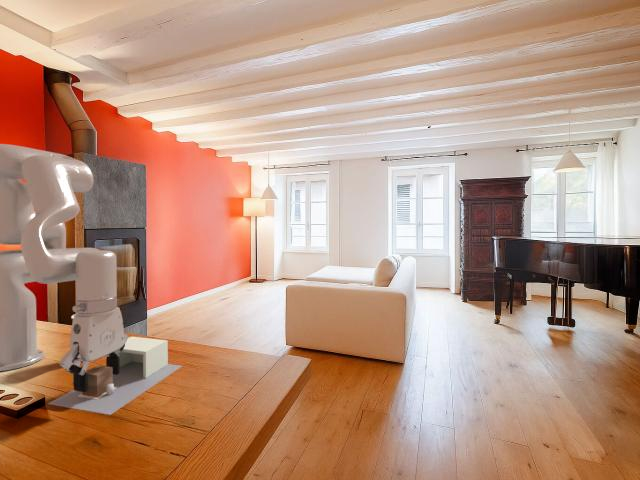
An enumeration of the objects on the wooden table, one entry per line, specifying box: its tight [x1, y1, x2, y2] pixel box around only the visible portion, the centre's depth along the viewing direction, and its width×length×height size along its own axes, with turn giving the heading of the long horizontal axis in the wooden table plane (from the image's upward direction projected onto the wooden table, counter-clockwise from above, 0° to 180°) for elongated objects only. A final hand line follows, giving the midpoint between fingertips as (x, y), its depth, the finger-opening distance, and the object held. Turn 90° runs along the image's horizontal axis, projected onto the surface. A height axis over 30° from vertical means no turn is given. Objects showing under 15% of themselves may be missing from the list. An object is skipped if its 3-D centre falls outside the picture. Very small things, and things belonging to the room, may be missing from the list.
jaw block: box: [82, 365, 113, 397], centre depth 72 cm, size 4×4×5 cm
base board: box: [47, 361, 183, 416], centre depth 77 cm, size 16×23×3 cm
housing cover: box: [106, 336, 169, 378], centre depth 84 cm, size 12×8×7 cm
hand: (97, 381), depth 72 cm, fingers open, 7 cm apart
